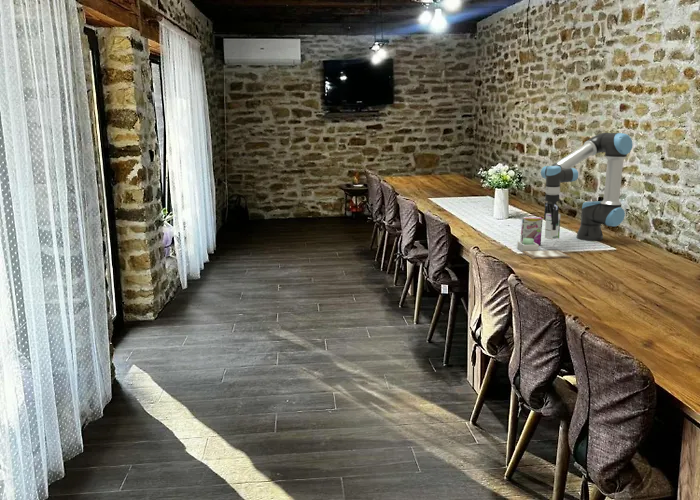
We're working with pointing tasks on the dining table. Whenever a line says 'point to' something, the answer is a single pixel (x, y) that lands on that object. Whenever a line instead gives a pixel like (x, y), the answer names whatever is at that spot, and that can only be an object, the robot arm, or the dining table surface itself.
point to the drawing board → (546, 254)
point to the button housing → (527, 247)
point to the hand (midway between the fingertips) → (550, 234)
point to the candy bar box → (531, 228)
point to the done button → (528, 241)
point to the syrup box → (548, 227)
